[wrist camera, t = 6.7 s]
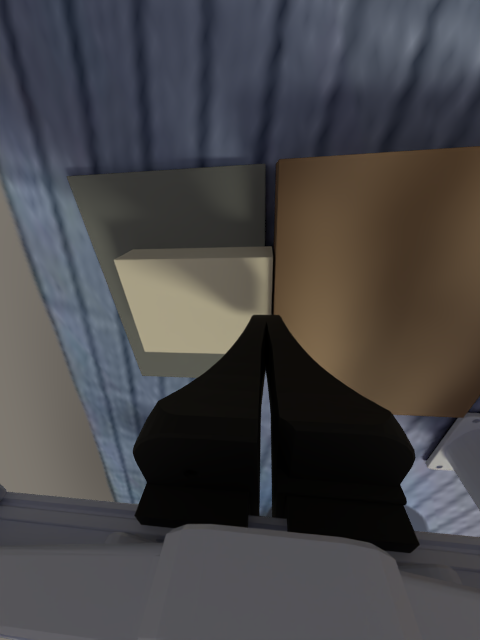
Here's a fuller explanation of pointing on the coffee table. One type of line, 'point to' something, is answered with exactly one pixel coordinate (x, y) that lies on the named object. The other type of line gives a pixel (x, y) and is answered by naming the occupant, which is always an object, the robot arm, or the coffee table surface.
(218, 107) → the coffee table surface
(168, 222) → the mat
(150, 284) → the tile
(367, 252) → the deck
